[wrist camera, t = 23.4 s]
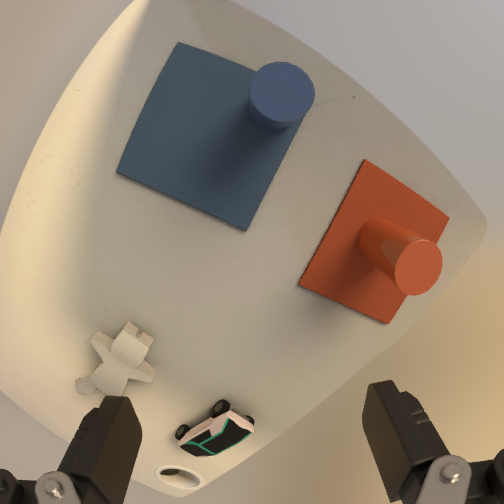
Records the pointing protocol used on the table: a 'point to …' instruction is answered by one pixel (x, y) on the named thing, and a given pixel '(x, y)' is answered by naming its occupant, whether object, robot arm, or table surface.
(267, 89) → the blue canister
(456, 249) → the table surface
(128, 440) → the robot arm
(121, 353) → the bunny figurine
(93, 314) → the table surface
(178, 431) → the toy car
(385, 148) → the table surface
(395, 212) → the terracotta mat
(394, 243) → the terracotta canister
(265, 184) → the blue mat
